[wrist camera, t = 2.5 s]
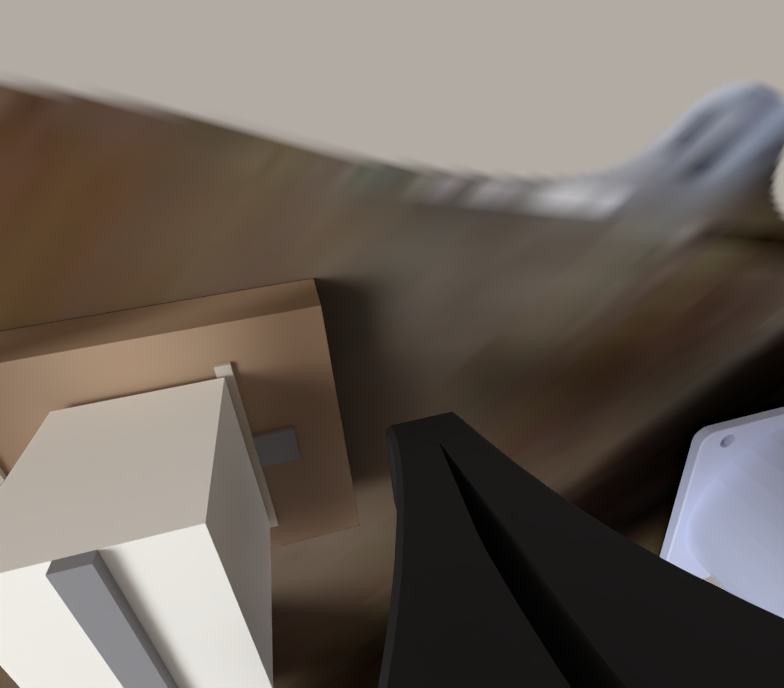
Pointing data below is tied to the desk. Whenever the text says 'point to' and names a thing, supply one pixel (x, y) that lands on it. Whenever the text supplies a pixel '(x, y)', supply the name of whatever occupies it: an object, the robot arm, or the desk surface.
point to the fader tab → (137, 548)
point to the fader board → (197, 364)
